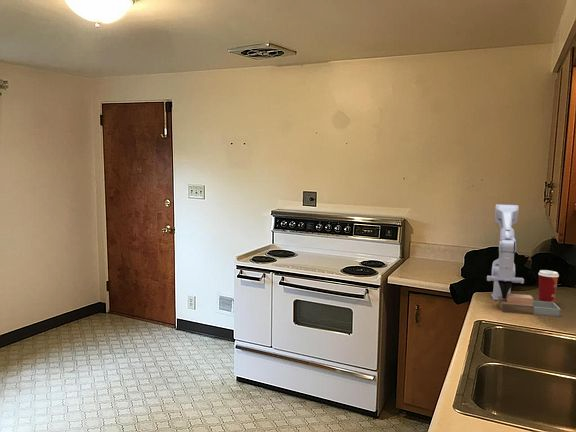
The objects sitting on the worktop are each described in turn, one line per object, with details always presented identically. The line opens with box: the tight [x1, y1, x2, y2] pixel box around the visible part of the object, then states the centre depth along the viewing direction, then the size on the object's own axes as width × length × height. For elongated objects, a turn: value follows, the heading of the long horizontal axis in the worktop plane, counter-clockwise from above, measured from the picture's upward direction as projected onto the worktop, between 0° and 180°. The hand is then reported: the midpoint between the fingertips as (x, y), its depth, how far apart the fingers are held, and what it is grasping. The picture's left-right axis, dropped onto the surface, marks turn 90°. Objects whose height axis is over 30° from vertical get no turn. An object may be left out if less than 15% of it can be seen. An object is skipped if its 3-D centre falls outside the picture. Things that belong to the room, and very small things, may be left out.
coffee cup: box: [537, 269, 560, 303], centre depth 219 cm, size 8×8×15 cm
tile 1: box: [506, 293, 520, 303], centre depth 212 cm, size 5×5×2 cm
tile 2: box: [518, 293, 534, 304], centre depth 210 cm, size 5×5×2 cm
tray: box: [532, 300, 562, 317], centre depth 209 cm, size 11×10×3 cm
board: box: [497, 296, 534, 315], centre depth 212 cm, size 12×12×4 cm
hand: (503, 298), depth 213 cm, fingers closed
